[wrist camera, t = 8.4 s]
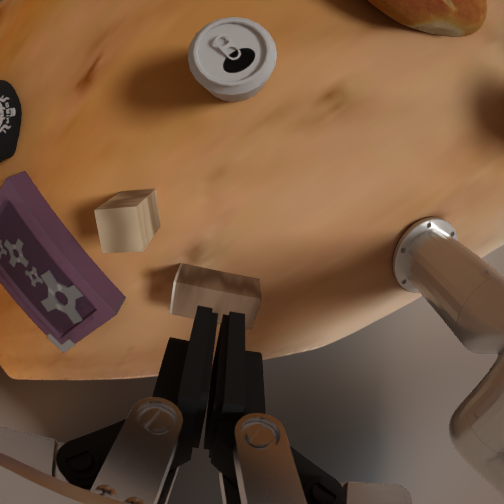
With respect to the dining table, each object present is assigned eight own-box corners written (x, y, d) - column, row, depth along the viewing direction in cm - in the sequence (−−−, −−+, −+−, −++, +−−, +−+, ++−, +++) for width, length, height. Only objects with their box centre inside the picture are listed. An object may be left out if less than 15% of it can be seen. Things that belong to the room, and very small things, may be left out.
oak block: (156, 188, 36) (136, 206, 29) (160, 225, 38) (143, 251, 31) (120, 191, 36) (94, 210, 28) (125, 227, 38) (102, 253, 31)
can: (227, 114, 32) (221, 111, 22) (189, 68, 30) (165, 46, 19) (279, 79, 31) (298, 60, 20) (241, 33, 28) (242, -4, 17)
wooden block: (180, 262, 40) (259, 279, 42) (175, 293, 42) (250, 307, 44) (173, 281, 36) (261, 299, 37) (169, 313, 38) (251, 329, 39)
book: (-13, 231, 37) (-30, 242, 32) (26, 169, 33) (6, 177, 29) (74, 335, 46) (63, 353, 42) (127, 296, 43) (116, 315, 38)
